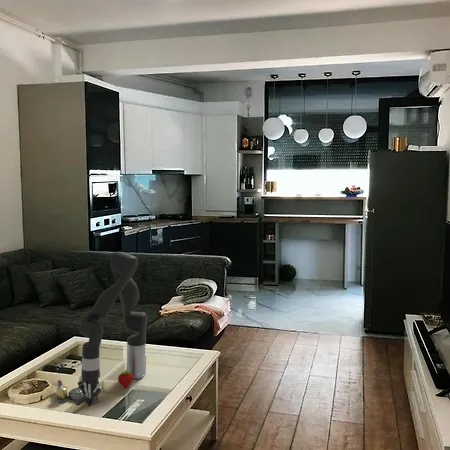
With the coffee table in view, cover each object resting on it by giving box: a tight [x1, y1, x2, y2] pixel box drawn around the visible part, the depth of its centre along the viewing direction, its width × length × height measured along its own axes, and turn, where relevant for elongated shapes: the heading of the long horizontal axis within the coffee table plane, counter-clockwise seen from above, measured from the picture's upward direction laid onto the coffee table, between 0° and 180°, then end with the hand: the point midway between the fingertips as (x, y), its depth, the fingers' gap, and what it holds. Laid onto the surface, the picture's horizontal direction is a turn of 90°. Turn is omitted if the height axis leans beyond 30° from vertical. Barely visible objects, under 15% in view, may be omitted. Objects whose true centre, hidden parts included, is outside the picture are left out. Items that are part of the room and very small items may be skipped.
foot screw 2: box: [74, 387, 99, 407], centre depth 221 cm, size 12×5×5 cm, turn 152°
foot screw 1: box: [56, 379, 68, 400], centre depth 227 cm, size 12×5×5 cm, turn 25°
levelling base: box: [55, 385, 100, 405], centre depth 227 cm, size 20×18×3 cm
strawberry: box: [117, 369, 134, 389], centre depth 238 cm, size 6×8×10 cm
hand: (90, 404), depth 214 cm, fingers closed
